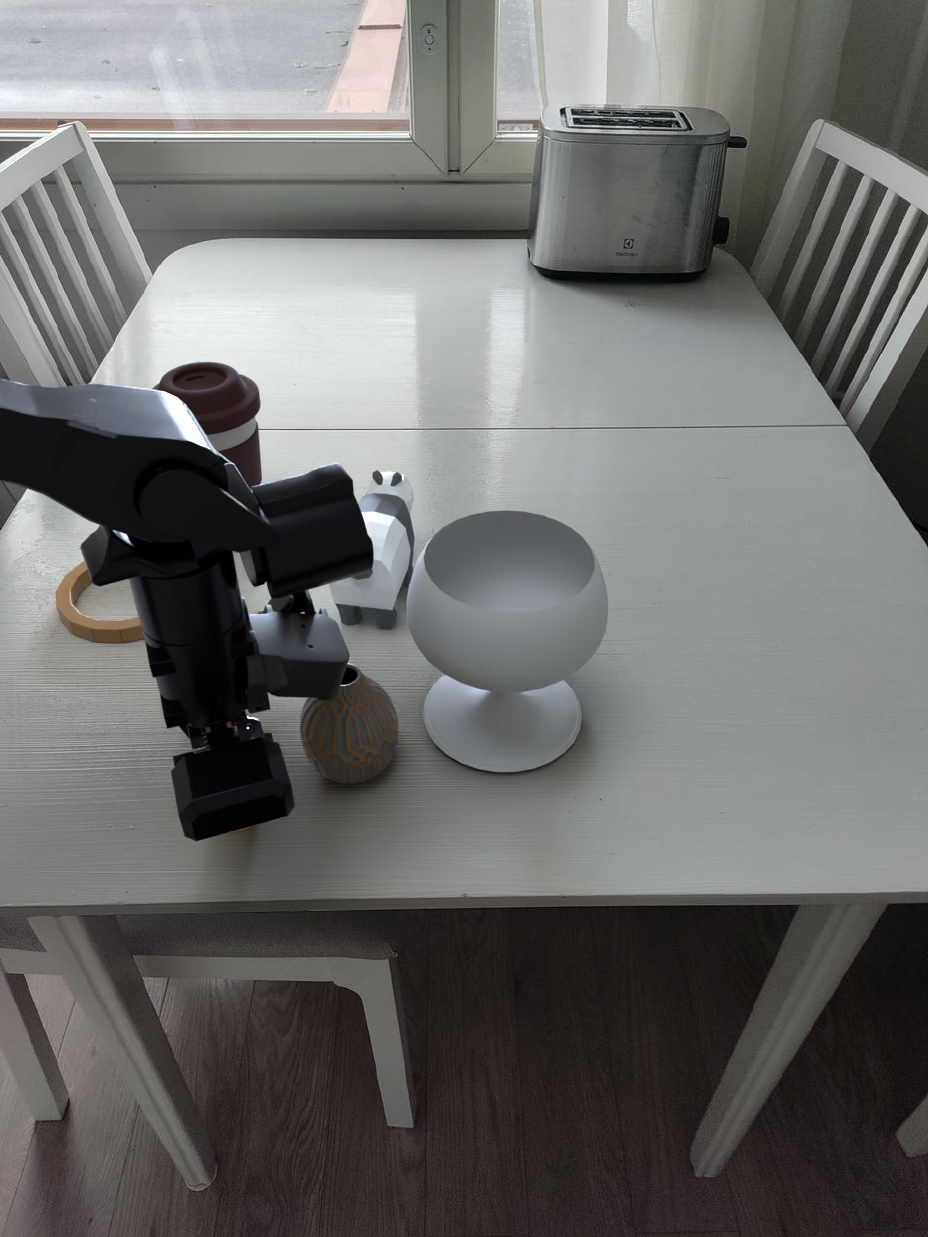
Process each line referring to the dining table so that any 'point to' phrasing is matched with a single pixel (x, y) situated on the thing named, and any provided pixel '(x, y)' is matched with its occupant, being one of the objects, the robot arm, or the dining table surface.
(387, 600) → the giant panda
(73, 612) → the wooden ring
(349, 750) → the vase
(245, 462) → the coffee cup
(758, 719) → the dining table surface
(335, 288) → the dining table surface
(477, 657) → the chalice
